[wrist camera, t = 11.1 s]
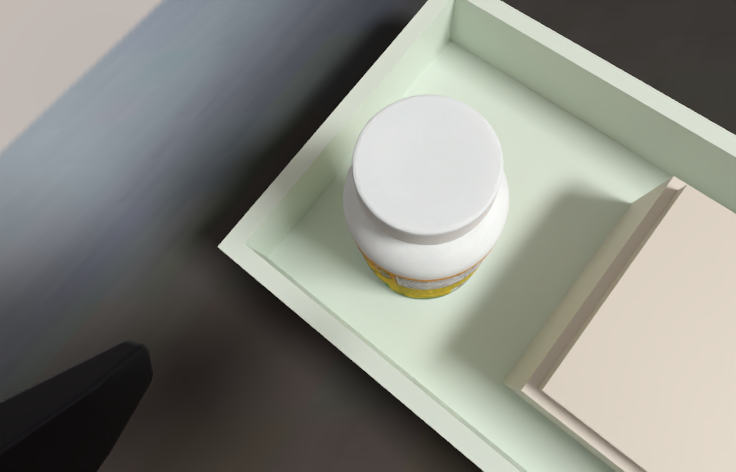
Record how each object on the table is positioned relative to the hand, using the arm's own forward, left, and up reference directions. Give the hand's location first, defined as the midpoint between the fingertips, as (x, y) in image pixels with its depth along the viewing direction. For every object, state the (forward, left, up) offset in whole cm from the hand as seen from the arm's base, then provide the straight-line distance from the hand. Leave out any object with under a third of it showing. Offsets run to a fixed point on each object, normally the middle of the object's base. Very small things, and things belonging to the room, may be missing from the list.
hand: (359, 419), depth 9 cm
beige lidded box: (-8, -8, -12) cm, 16 cm away
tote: (-2, -8, -12) cm, 15 cm away
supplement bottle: (+3, -6, -12) cm, 13 cm away
